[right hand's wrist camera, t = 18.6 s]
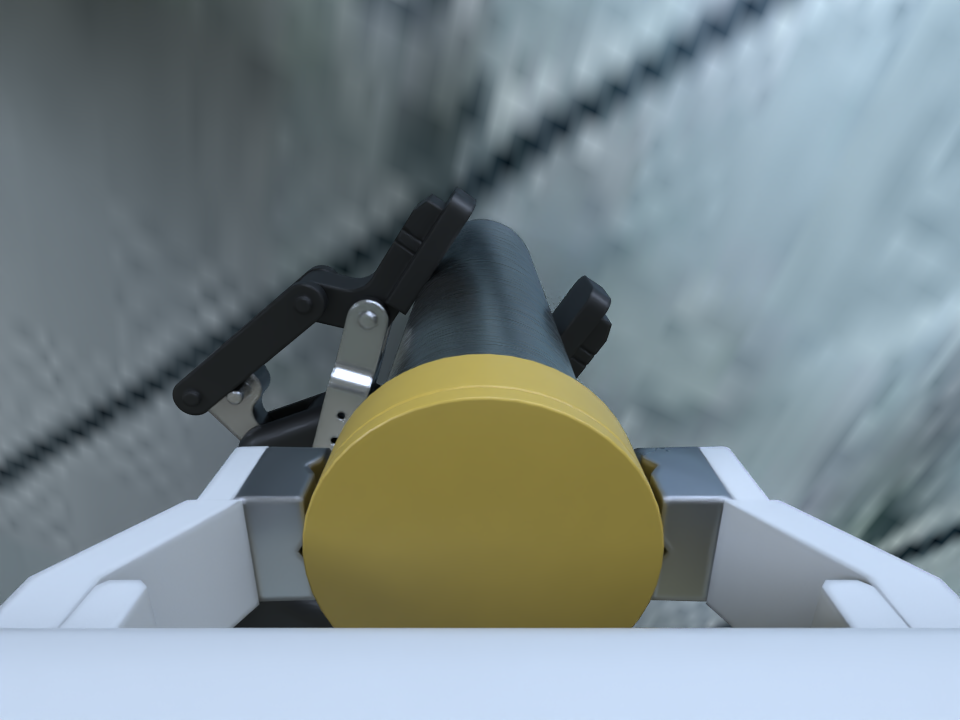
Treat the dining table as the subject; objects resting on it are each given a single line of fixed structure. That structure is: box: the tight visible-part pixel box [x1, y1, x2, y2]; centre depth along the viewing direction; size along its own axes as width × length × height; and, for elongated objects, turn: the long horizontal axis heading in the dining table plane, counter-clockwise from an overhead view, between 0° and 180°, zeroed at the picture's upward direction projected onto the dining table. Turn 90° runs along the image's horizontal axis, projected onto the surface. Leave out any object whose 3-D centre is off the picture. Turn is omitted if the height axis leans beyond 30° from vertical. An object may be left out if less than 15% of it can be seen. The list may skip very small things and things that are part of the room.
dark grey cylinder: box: [387, 219, 577, 382], centre depth 17 cm, size 4×4×17 cm
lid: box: [302, 354, 664, 628], centre depth 9 cm, size 5×5×2 cm
